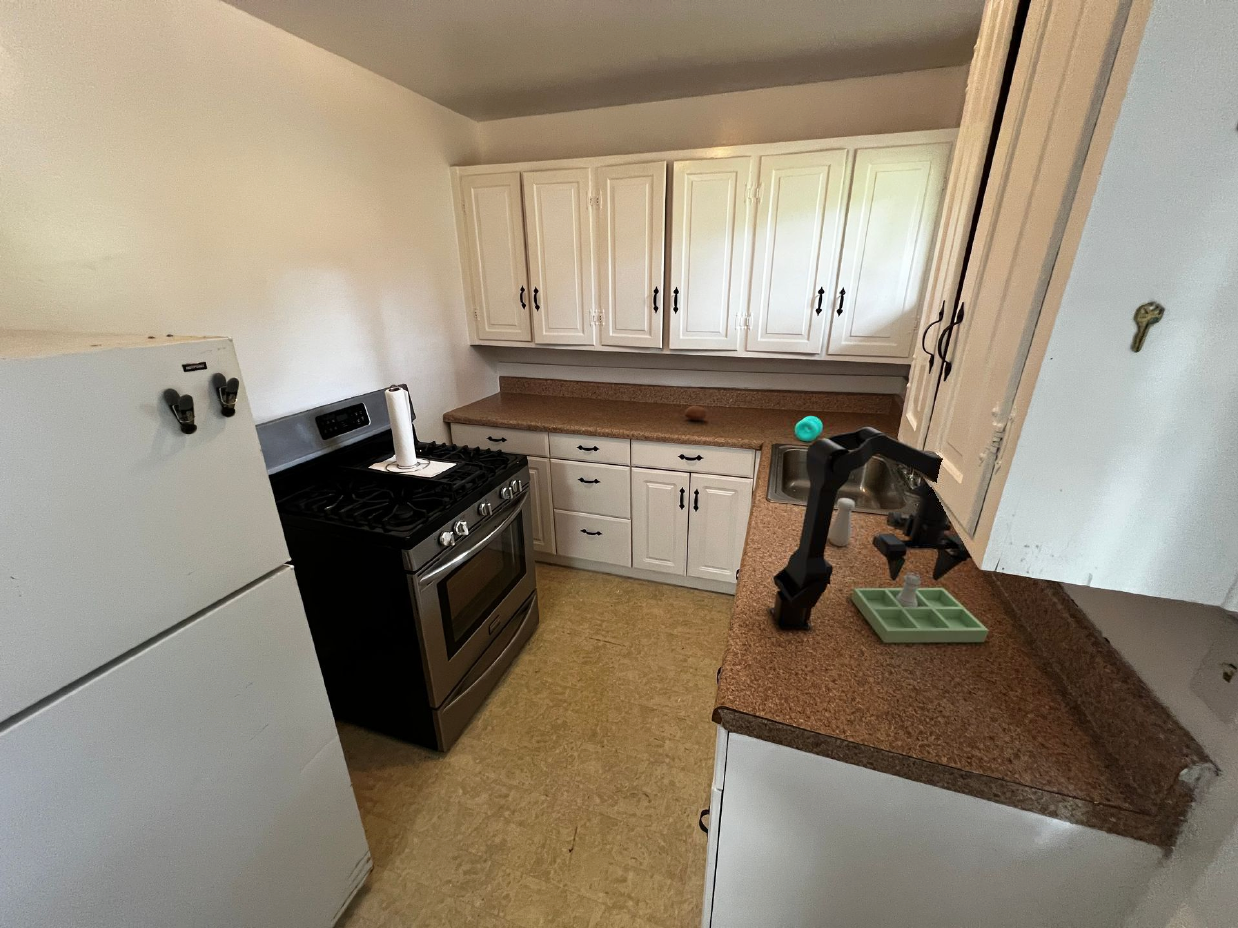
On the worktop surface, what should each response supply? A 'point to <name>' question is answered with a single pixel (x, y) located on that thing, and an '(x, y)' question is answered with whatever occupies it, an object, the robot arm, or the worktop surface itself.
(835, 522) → the salt shaker
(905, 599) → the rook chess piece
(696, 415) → the potato
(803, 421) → the cyan rounded blob
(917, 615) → the grid
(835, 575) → the worktop surface
